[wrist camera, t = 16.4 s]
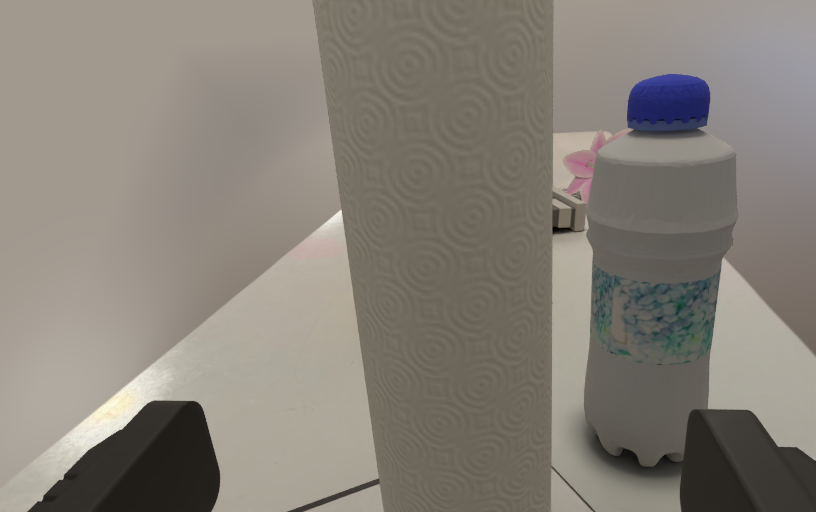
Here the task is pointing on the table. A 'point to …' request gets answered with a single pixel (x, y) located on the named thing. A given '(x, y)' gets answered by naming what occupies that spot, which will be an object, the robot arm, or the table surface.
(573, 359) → the table surface
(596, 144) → the lily
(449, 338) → the paper towel roll
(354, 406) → the table surface
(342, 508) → the scale
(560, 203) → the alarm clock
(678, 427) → the bottle
